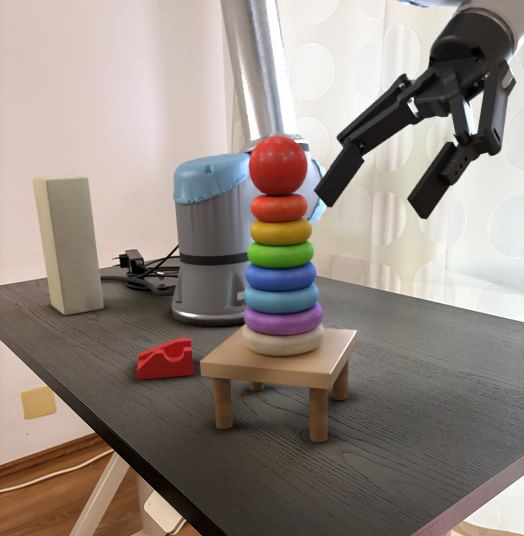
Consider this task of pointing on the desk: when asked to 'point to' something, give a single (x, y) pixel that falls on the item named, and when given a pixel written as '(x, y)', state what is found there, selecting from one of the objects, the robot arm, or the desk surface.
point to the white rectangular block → (68, 243)
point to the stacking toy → (280, 256)
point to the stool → (283, 374)
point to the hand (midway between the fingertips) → (365, 204)
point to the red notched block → (166, 360)
